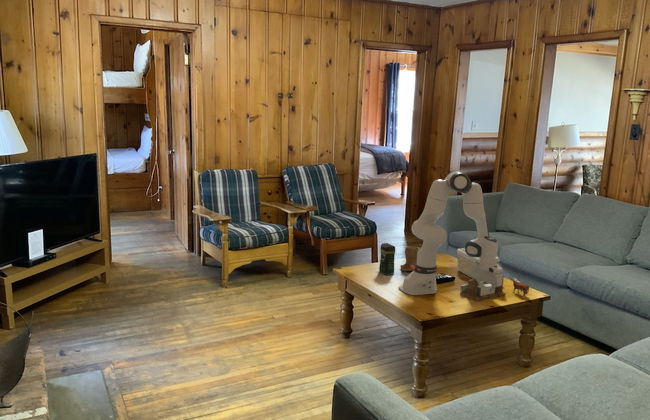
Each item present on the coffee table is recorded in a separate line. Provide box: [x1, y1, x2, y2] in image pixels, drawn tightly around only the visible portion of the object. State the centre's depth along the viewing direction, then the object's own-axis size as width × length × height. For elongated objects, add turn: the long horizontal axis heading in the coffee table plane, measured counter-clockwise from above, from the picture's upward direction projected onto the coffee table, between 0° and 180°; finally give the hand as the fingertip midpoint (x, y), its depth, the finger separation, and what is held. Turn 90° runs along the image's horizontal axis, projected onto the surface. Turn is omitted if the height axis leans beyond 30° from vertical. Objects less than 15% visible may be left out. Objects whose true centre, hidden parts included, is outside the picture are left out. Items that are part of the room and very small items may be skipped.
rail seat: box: [459, 276, 506, 302], centre depth 307 cm, size 23×12×11 cm, turn 119°
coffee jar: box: [378, 242, 396, 275], centre depth 338 cm, size 10×8×19 cm
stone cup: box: [400, 246, 421, 272], centre depth 346 cm, size 15×12×15 cm
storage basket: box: [456, 247, 501, 282], centre depth 340 cm, size 24×16×15 cm
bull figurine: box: [510, 277, 530, 298], centre depth 310 cm, size 4×13×8 cm, turn 21°
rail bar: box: [477, 284, 496, 296], centre depth 306 cm, size 12×4×4 cm, turn 119°
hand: (485, 289), depth 306 cm, fingers open, 8 cm apart
